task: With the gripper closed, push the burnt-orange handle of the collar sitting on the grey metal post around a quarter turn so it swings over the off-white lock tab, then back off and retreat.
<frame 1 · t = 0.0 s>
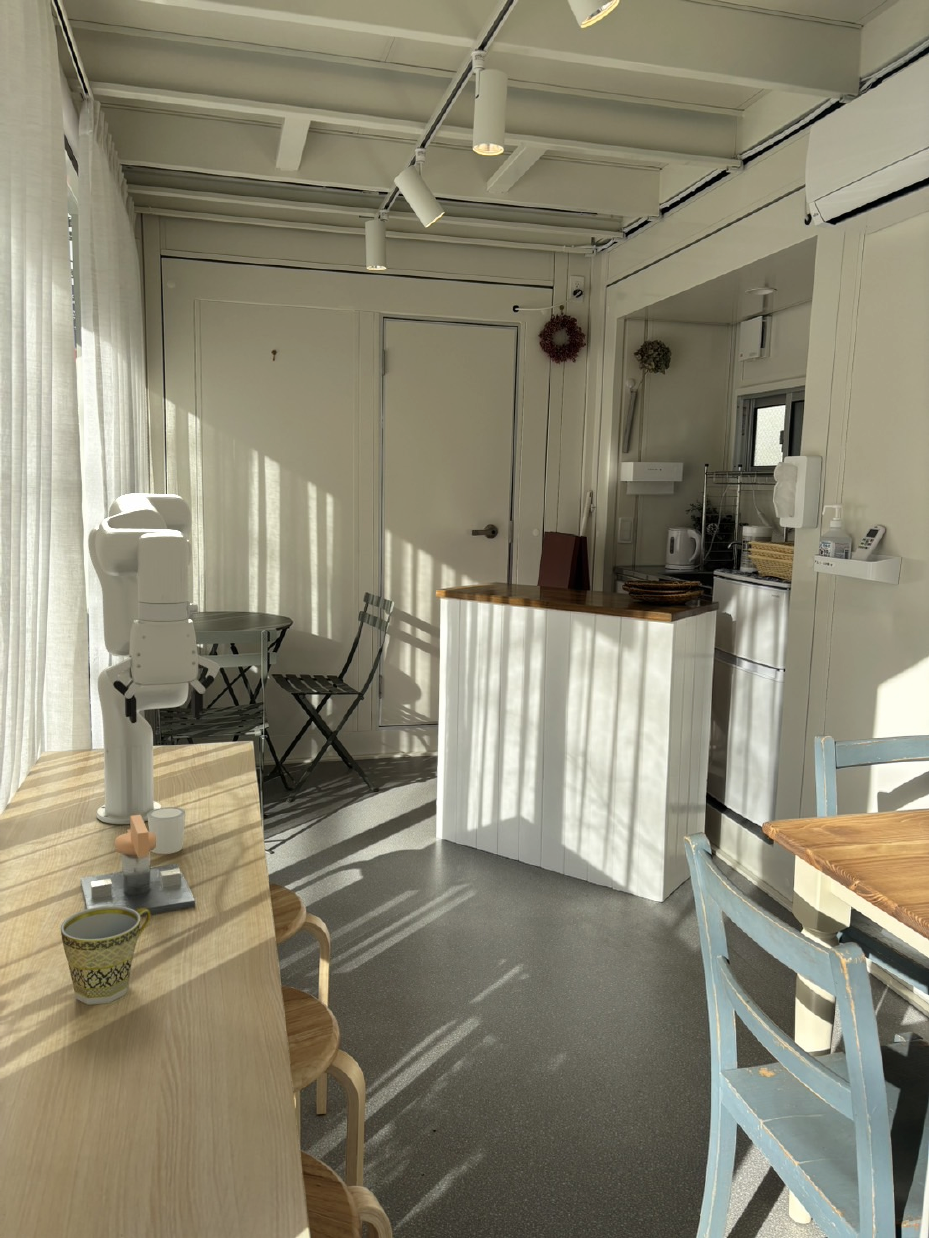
hand: (164, 718, 148), 31 cm above the counter, tool pointing down, fingers open, 9 cm apart
post: (136, 895, 155), on the counter
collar: (137, 834, 152), point 11 cm above the counter, hinge at 0.0°
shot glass: (166, 849, 175), on the counter
ceramic cup: (111, 988, 127), on the counter
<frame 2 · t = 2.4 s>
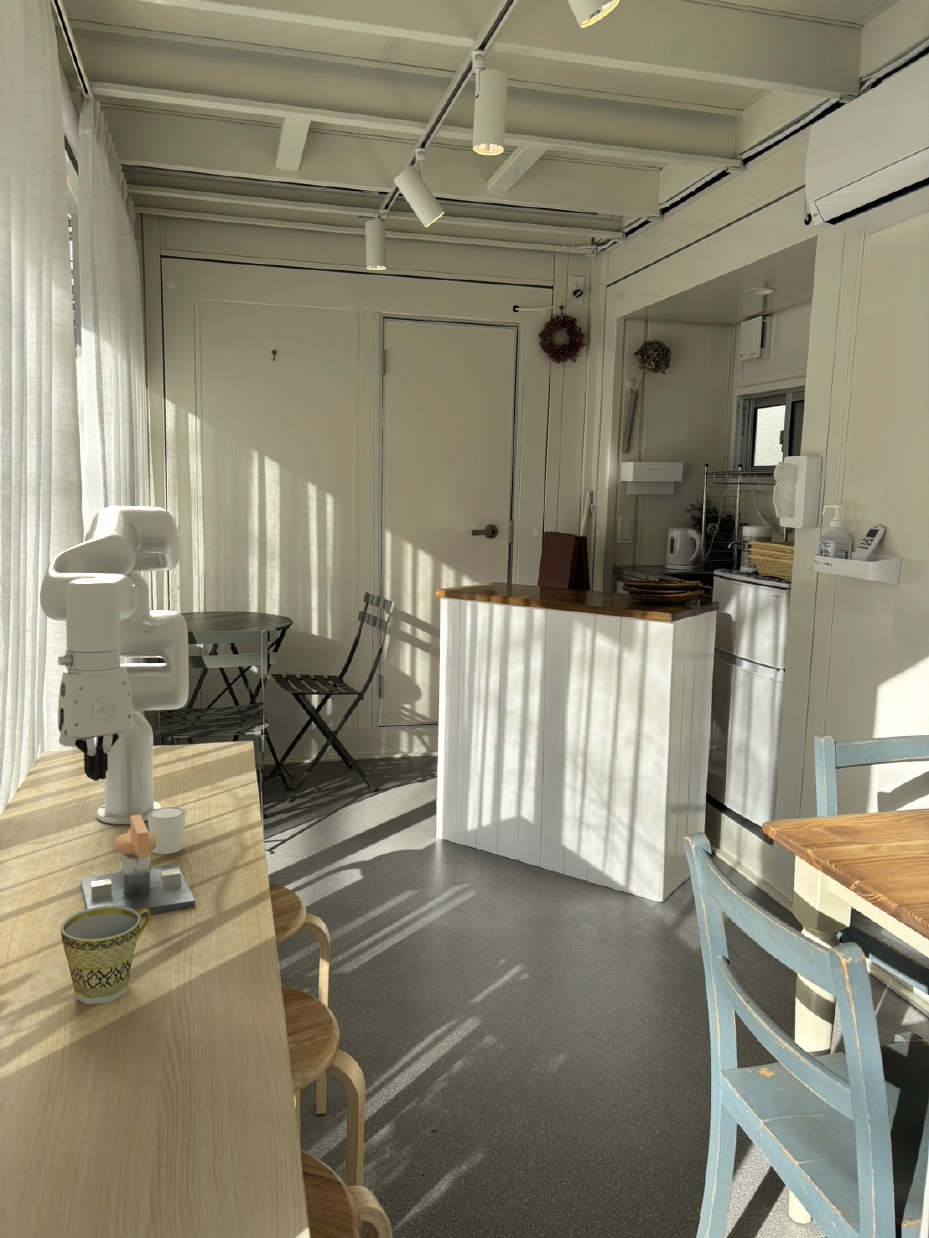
hand: (96, 777, 143), 23 cm above the counter, tool pointing down, fingers closed
nothing on the counter moved.
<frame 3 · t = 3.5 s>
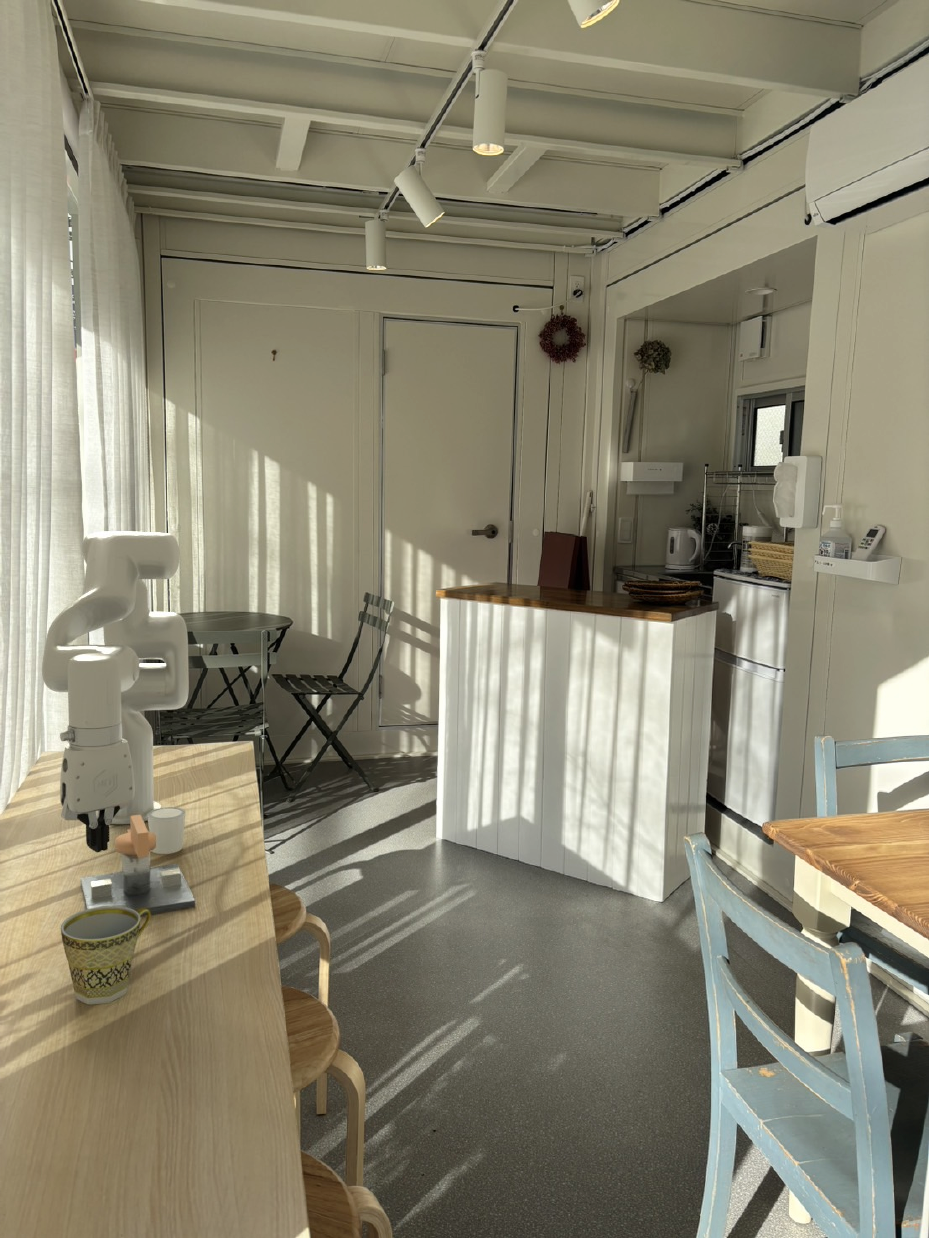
hand: (98, 848, 145), 12 cm above the counter, tool pointing down, fingers closed
nothing on the counter moved.
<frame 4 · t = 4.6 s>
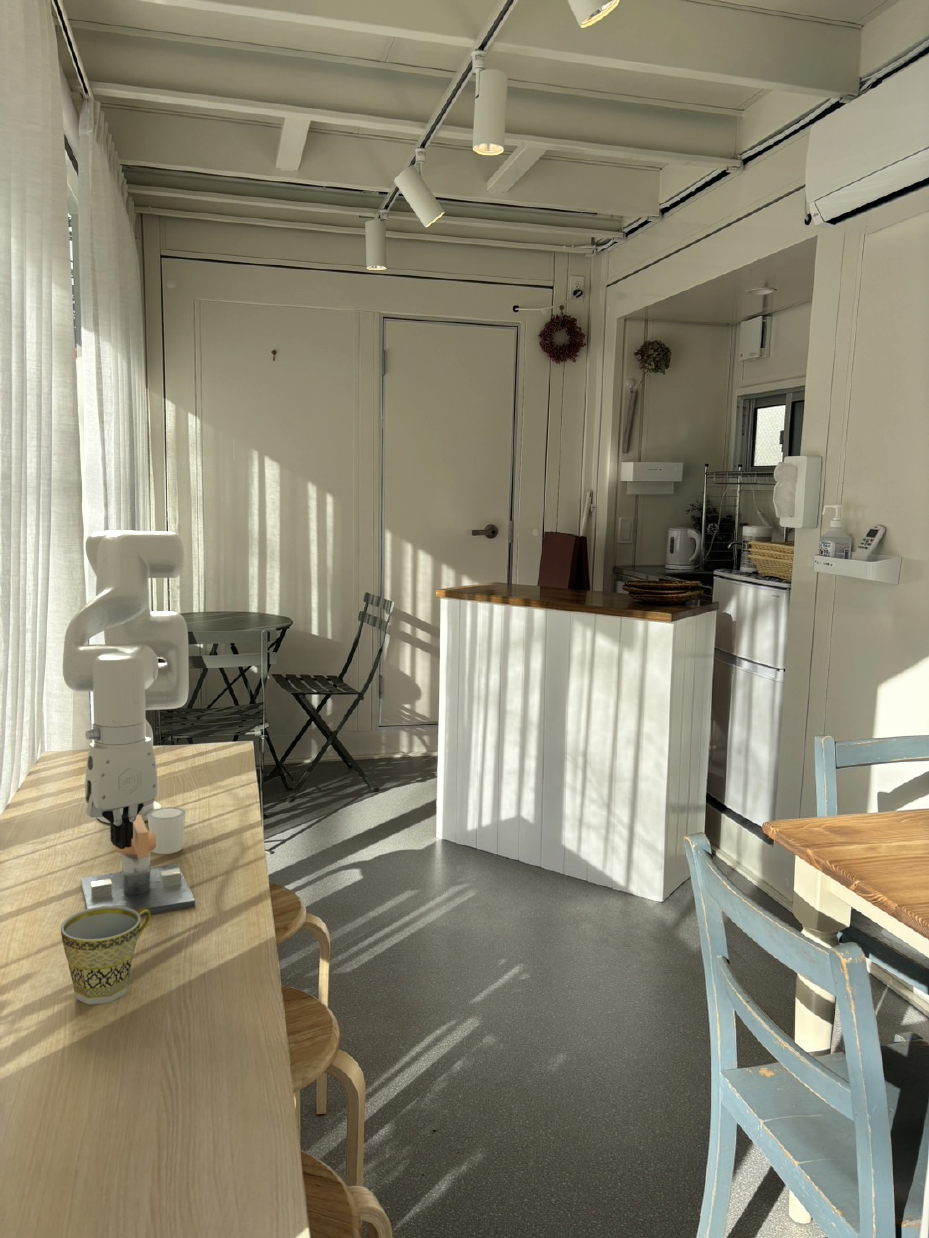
hand: (121, 845, 146), 12 cm above the counter, tool pointing down, fingers closed
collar: (137, 834, 152), point 11 cm above the counter, hinge at 0.0°, touching gripper
everything else where it was.
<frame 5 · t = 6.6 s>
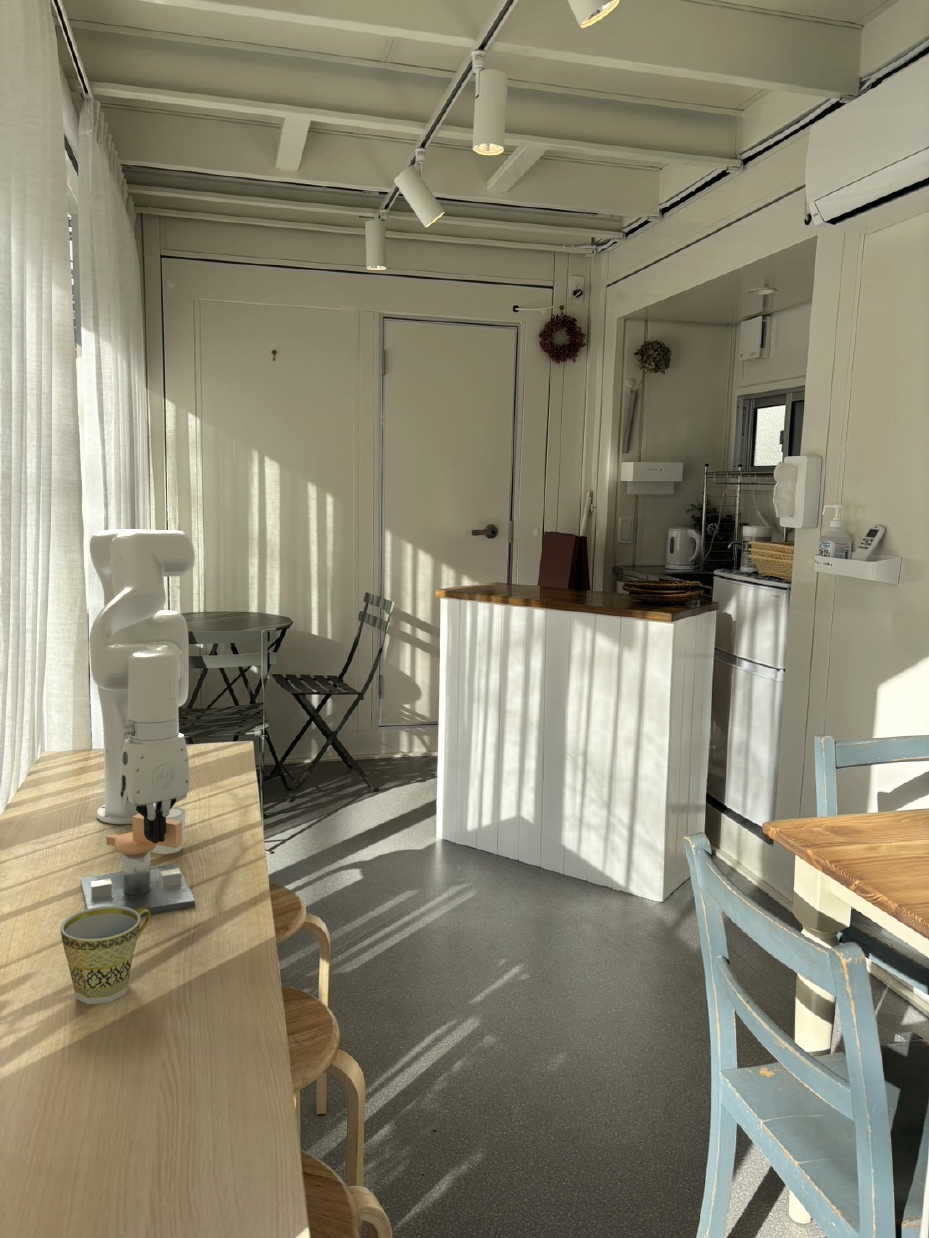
hand: (155, 839, 149), 12 cm above the counter, tool pointing down, fingers closed
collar: (143, 833, 153), point 11 cm above the counter, hinge at 43.6°, touching gripper
everything else where it was.
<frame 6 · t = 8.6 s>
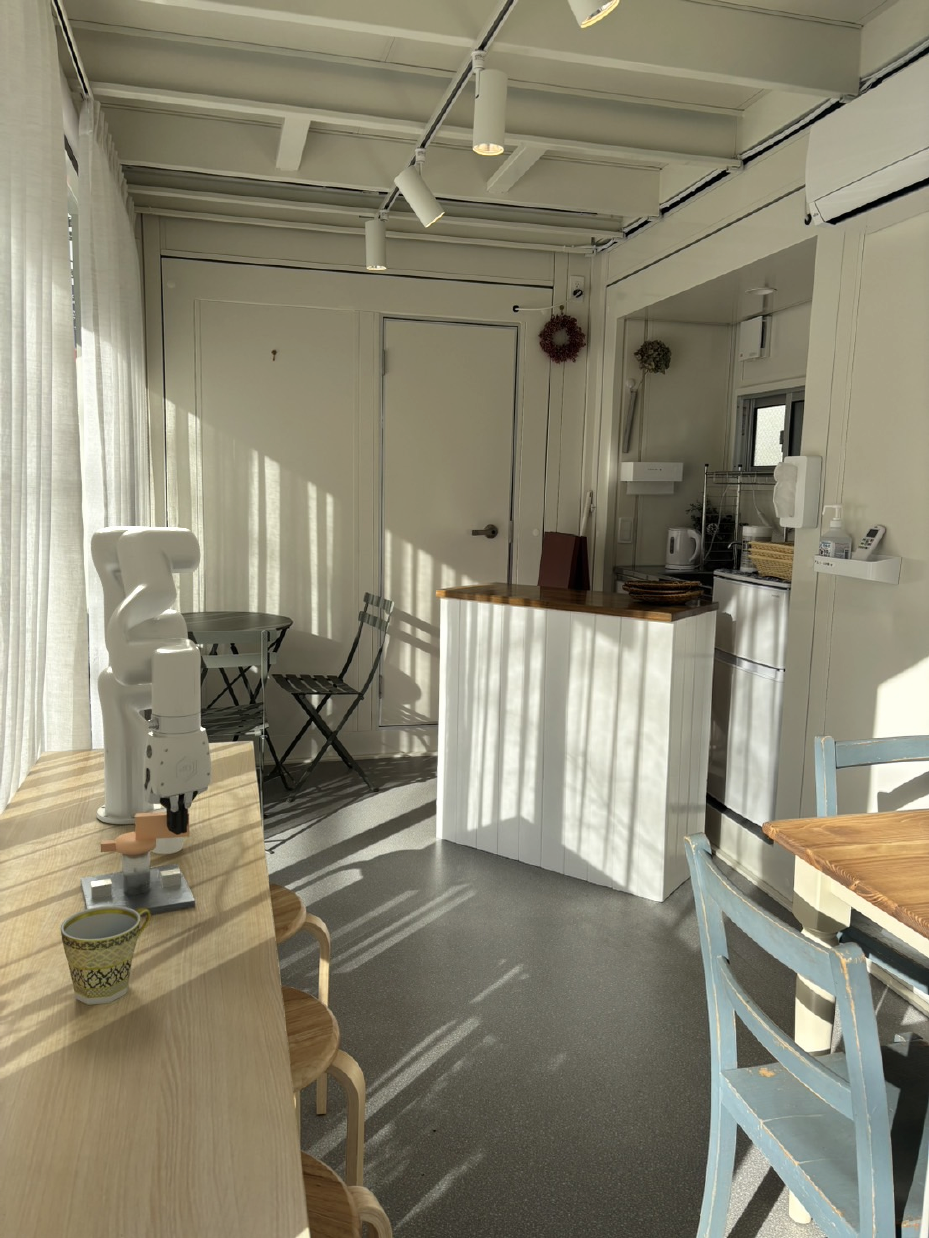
hand: (177, 831, 152), 12 cm above the counter, tool pointing down, fingers closed
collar: (145, 831, 154), point 11 cm above the counter, hinge at 79.1°
everything else where it was.
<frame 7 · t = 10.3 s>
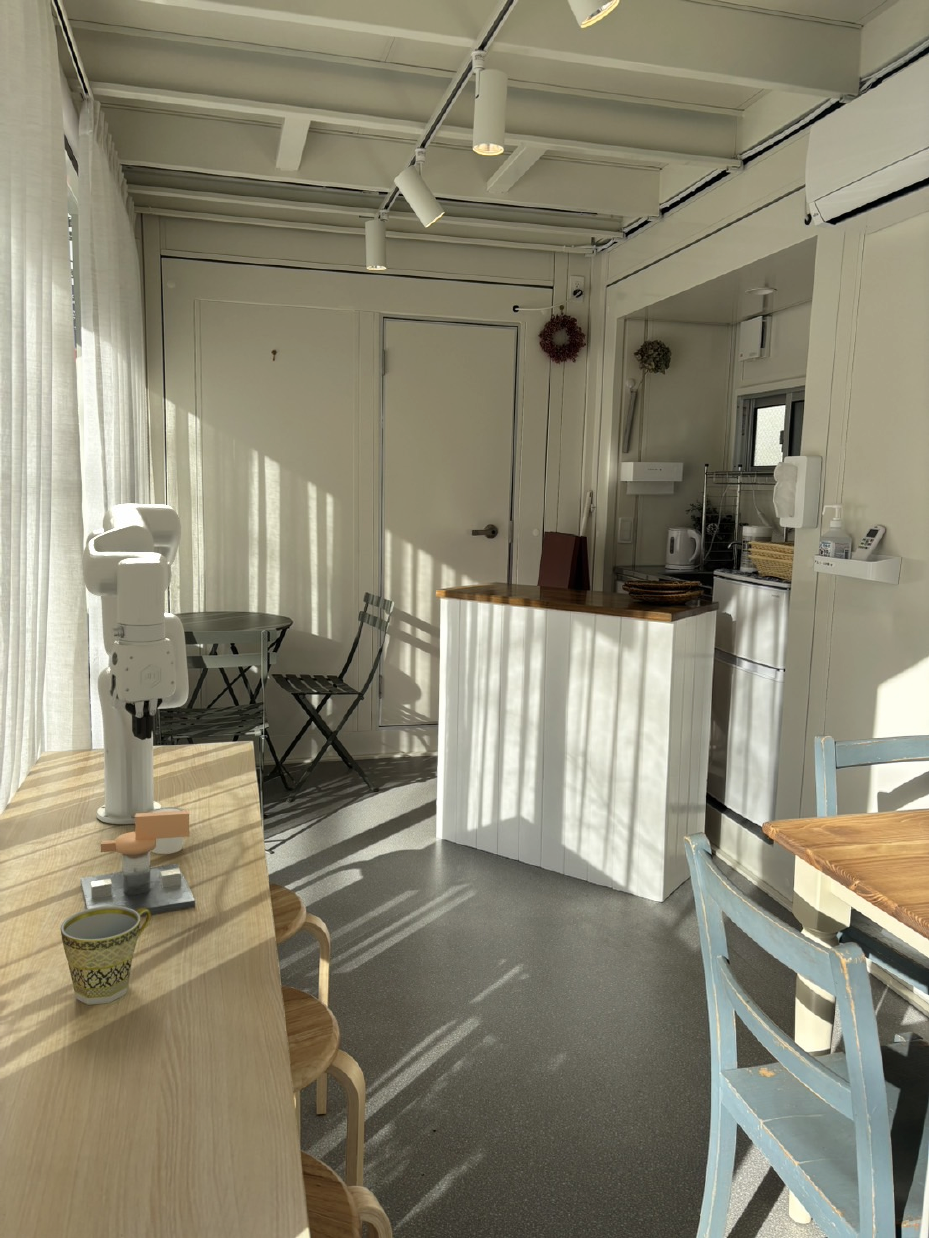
hand: (142, 737, 159), 25 cm above the counter, tool pointing down, fingers closed
nothing on the counter moved.
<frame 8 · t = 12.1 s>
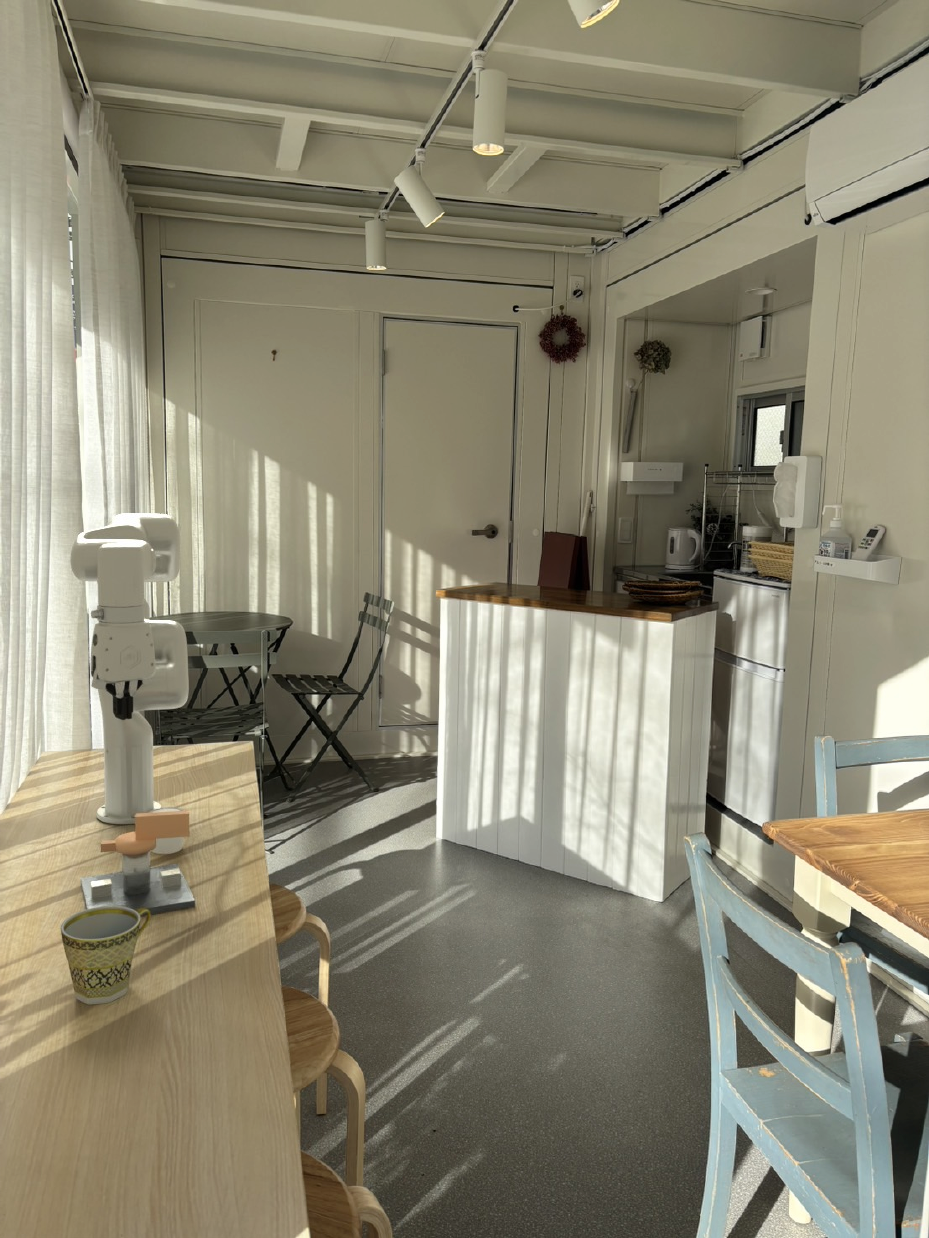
hand: (123, 717, 163), 27 cm above the counter, tool pointing down, fingers closed
nothing on the counter moved.
at the end: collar at +79° (first picture: +0°); the gripper is holding nothing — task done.
